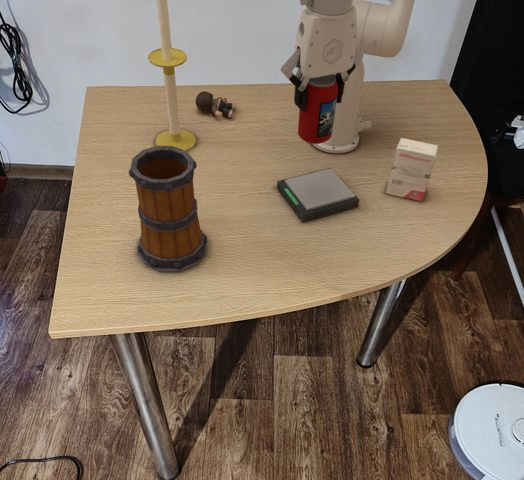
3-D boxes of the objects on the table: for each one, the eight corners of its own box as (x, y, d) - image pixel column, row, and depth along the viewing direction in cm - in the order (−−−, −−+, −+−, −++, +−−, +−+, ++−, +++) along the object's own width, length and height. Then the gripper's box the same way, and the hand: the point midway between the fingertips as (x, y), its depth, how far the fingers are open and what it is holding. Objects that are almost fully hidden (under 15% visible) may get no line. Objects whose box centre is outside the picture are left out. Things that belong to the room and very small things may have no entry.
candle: (162, 127, 140) (142, -46, 110) (200, 133, 139) (190, -41, 109) (150, 149, 134) (124, -28, 104) (189, 155, 133) (175, -22, 103)
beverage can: (328, 149, 107) (337, 89, 97) (294, 144, 108) (299, 84, 98) (333, 129, 111) (342, 70, 101) (300, 125, 112) (305, 65, 102)
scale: (329, 174, 130) (331, 165, 128) (358, 207, 123) (360, 197, 121) (276, 188, 126) (277, 178, 124) (302, 222, 119) (303, 213, 117)
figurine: (234, 110, 149) (197, 99, 148) (237, 93, 145) (200, 81, 144) (228, 127, 144) (191, 116, 143) (232, 110, 140) (193, 98, 139)
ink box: (425, 190, 128) (440, 144, 119) (422, 202, 125) (437, 156, 116) (388, 181, 129) (400, 135, 120) (384, 194, 127) (396, 147, 117)
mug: (129, 216, 119) (112, 130, 103) (195, 206, 122) (189, 121, 106) (143, 278, 108) (126, 193, 92) (215, 266, 110) (211, 181, 95)
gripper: (292, 17, 85) (285, 124, 99) (387, 0, 90) (368, 104, 104) (271, -3, 89) (267, 102, 103) (364, -18, 93) (348, 85, 108)
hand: (318, 103), depth 104 cm, fingers closed on beverage can, 6 cm apart
